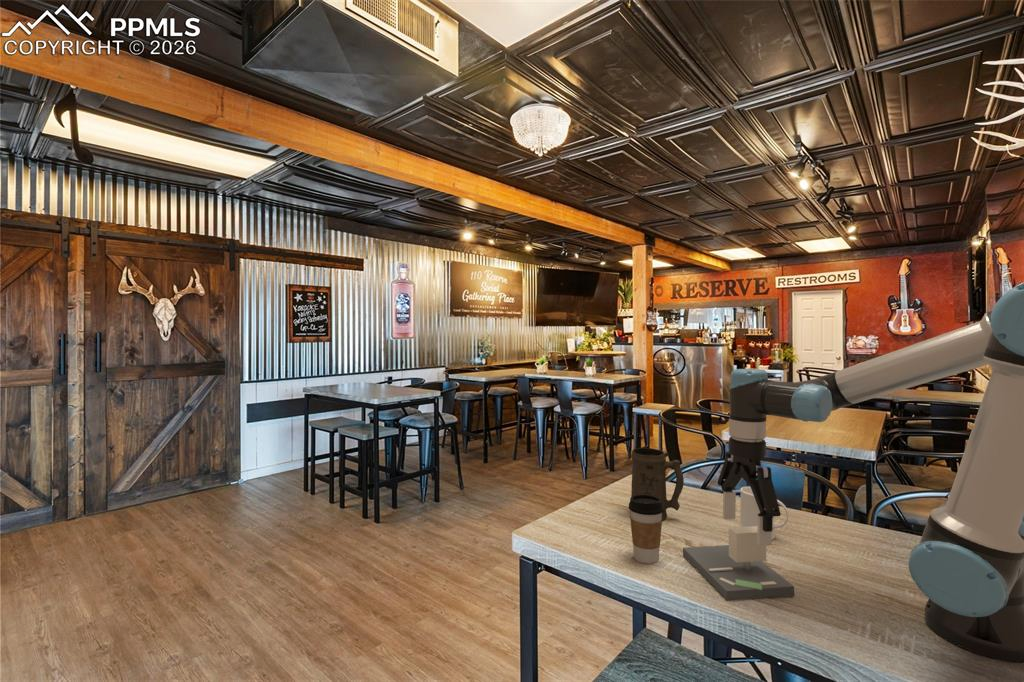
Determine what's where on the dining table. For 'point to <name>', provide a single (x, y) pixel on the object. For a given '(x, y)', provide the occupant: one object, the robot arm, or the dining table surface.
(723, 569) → the peg
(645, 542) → the coffee cup
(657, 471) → the beer stein
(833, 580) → the dining table surface
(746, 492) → the mug
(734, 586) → the tuner board
